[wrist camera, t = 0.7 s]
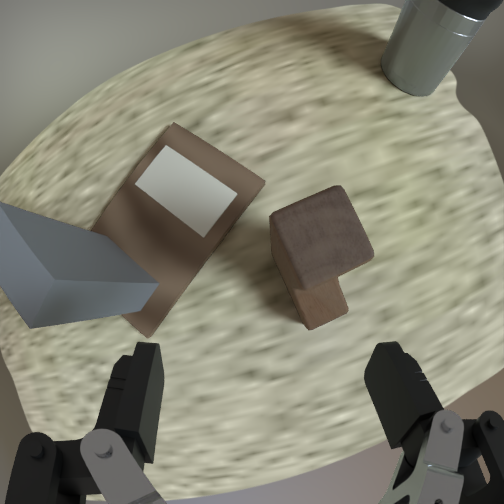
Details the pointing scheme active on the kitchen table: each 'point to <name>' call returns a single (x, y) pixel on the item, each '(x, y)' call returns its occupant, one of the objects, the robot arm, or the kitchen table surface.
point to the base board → (176, 215)
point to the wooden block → (318, 252)
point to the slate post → (66, 271)
